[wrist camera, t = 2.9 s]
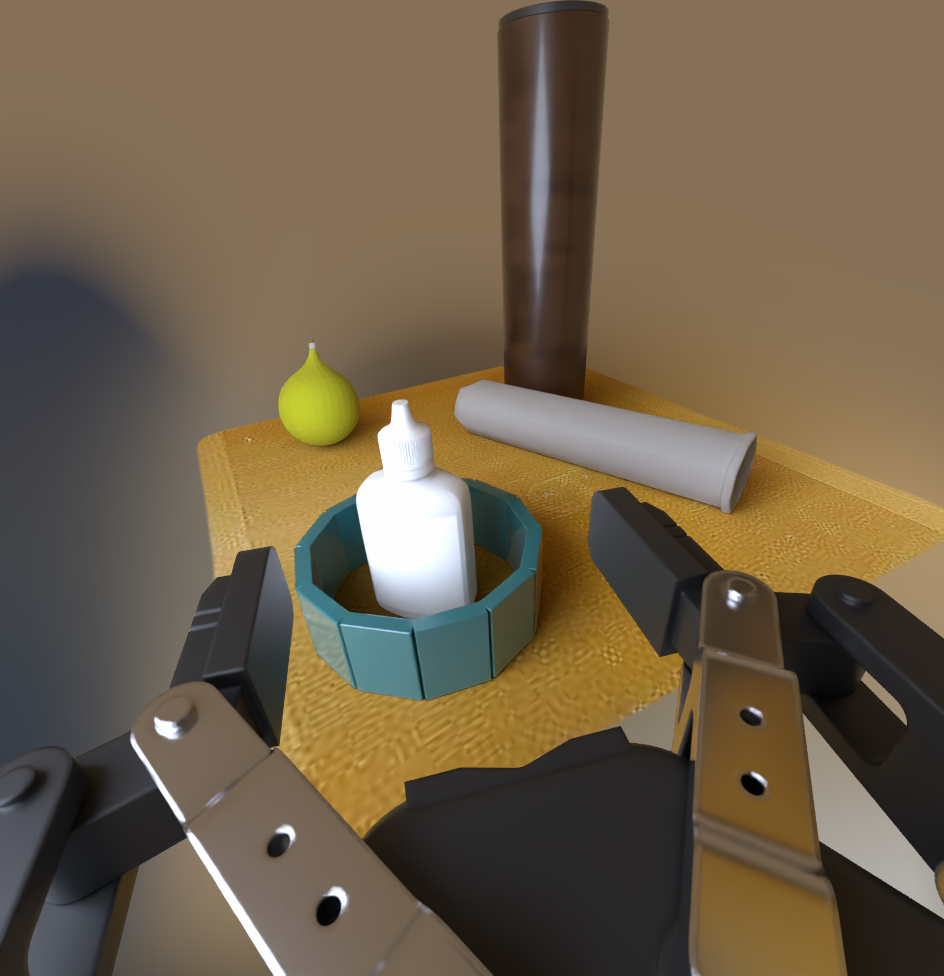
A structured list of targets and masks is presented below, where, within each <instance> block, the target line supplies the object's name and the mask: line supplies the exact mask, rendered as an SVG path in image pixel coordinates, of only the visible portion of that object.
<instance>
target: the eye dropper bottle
mask: <svg viewBox="0 0 944 976" xmlns="http://www.w3.org/2000/svg"><path fill="white" fill-rule="evenodd" d="M378 440H379V446H380V452H381V458H382V464H383V469H382V470H379V471H376V472H374V473H373V474H371V475H370V476H369V477H368V478H367V479H366V480H365V481H364V482H363V483H362V485H361V486H360V488H359V490H358V492H357V497H356V504H357V510H358V515H359V521H360V526H361V531H362V535H363V540H364V545H365V550H366V555H367V559H368V564H369V569H370V573H371V578H372V583H373V587H374V592H375V596H376V600H377V602H378V603H379V605H380V606H381V607H382V608H384V609H386V610H387V611H389V612H391V613H394V614H396V615H399V616H402V617H405V618H409V619H413V620H414V619H417V618H421V617H425V616H428V615H432V614H435V613H439V612H443V611H446V610H450V609H454V608H457V607H461V606H464V605H468V604H472V603H474V601H475V598H476V594H477V579H476V564H475V549H474V535H473V521H472V509H471V498H470V492H469V487H468V485H467V484H466V483H465V482H464V481H463V480H462V479H461V478H459V477H457V476H456V475H454V474H452V473H450V472H448V471H445V470H443V469H440V468H438V467H435V466H434V457H433V447H432V438H431V430H430V427H429V426H428V425H426V424H425V423H422V422H419V421H415V420H414V418H413V415H412V412H411V409H410V406H409V403H408V401H407V400H397V401H394V402H393V403H392V419H391V423H390V424H389V425H387V426H385V427H383V428H382V429H381V430H380V432H379V433H378Z"/></svg>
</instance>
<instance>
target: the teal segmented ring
mask: <svg viewBox="0 0 944 976" xmlns="http://www.w3.org/2000/svg"><path fill="white" fill-rule="evenodd" d="M461 479H462V480H463V481H464V482H465V483H466V484H467V485H468V487H469V492H470V498H471V509H472V521H473V535H474V544H476V545H478V546H480V547H482V548H484V549H486V550H488V551H490V552H492V553H493V554H495V555H497V556H499V557H501V558H503V559H505V560H507V561H509V563H510V565H511V566H512V568H513V570H514V571H515V572H514V573H513V574H512V575H510V576H509V577H508V578H507V579H506V580H505V581H503V582H502V583H501V584H500V585H499V586H498V587H496V588H495V589H494V590H493V591H492V592H490V593H489V594H488V595H487V596H486V597H485V598H483V599H482V600H481V601H479V602H475V603H472V604H468V605H464V606H461V607H457V608H454V609H450V610H446V611H443V612H439V613H435V614H432V615H428V616H425V617H421V618H417V619H414V620H411V619H403V618H395V617H387V616H379V615H371V614H363V613H355V612H349V611H347V610H346V609H345V608H344V607H342V606H341V605H340V604H338V603H337V602H336V601H335V600H333V598H334V597H335V595H336V593H337V592H338V590H339V588H340V587H341V585H342V584H343V582H344V580H345V579H346V577H347V576H348V574H349V573H350V572H352V571H353V570H355V569H356V568H358V567H360V566H361V565H363V564H364V563H366V562H367V561H368V559H367V555H366V550H365V545H364V540H363V535H362V531H361V526H360V521H359V515H358V510H357V504H356V497H357V494H355V495H353V496H352V497H350V498H348V499H346V500H344V501H342V502H340V503H338V504H336V505H334V506H333V507H331V508H329V509H327V510H326V512H323V513H322V514H321V516H320V517H319V518H318V519H317V521H316V522H315V523H314V524H313V525H312V527H311V528H310V529H309V530H308V532H307V533H306V534H305V535H304V537H303V538H302V539H301V540H300V541H299V543H298V544H297V545H296V548H295V549H294V552H295V589H296V592H297V595H298V598H299V601H300V604H301V607H302V610H303V613H304V616H305V619H306V622H307V626H308V629H309V632H310V635H311V638H312V641H313V644H314V647H315V650H316V652H317V653H318V655H319V656H320V657H321V658H322V659H323V660H324V661H325V662H326V663H327V664H328V665H329V666H330V667H332V668H333V669H334V670H335V671H336V672H337V673H338V674H339V675H340V676H341V677H342V678H343V679H344V680H345V681H347V682H348V683H349V684H350V685H351V686H352V687H353V688H358V690H359V691H363V692H369V693H375V694H382V695H388V696H394V697H400V698H407V699H413V700H419V701H422V700H423V697H424V695H425V699H426V701H428V700H431V699H434V698H437V697H440V696H444V695H447V694H450V693H453V692H456V691H459V690H462V689H466V688H469V687H472V686H475V685H478V684H481V683H484V682H488V681H491V676H493V677H496V676H497V675H498V674H499V673H500V672H501V671H502V670H503V669H504V668H505V667H506V666H507V665H508V663H509V662H510V661H511V660H512V659H513V658H514V657H515V656H516V655H517V654H518V653H519V652H520V651H521V650H522V649H523V648H524V647H525V646H526V645H527V644H528V643H529V642H530V641H531V640H532V639H533V637H534V635H535V634H536V627H537V619H538V612H539V604H540V596H541V574H542V535H543V531H542V527H541V526H540V525H539V523H538V522H537V521H536V519H535V518H534V517H533V516H532V514H531V513H530V512H529V510H528V509H527V508H526V506H525V505H524V504H523V503H522V501H521V500H520V499H519V498H517V496H516V495H513V494H511V493H508V492H506V491H503V490H501V489H498V488H496V487H494V486H491V485H489V484H486V483H484V482H481V481H479V480H474V481H473V479H466V478H461Z"/></svg>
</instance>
